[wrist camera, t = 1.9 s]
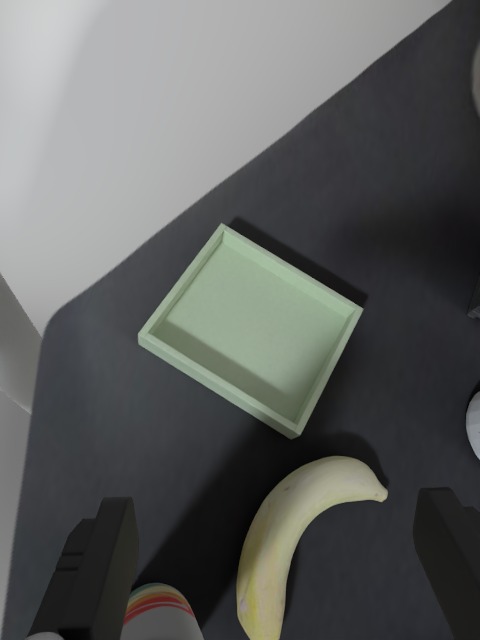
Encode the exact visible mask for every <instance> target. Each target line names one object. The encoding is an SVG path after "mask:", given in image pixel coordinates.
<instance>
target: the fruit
mask: <svg viewBox="0 0 480 640" xmlns="http://www.w3.org/2000/svg"><path fill="white" fill-rule="evenodd" d="M387 494H388V493H387V490H386V489H385V488H384V487H383V486H382V485H381V483H380V482H379V481H378V479H377V478H376V476H375V474H374V473H373V471H372V470H371V469H370V468H369V467H368V466H367V465H366V464H364V463H363V462H361V461H360V460H357V459H354V458H351V457H345V456H330V457H326V458H322V459H319V460H316V461H313V462H310V463H308V464H306V465H304V466H302V467H300V468H298V469H297V470H295V471H293V472H292V473H291V474H289V475H288V476H287V477H285V478H284V479H283V480H282V481H281V482H280V483H279V484H278V485H277V486H276V487H275V488H274V489H273V490H272V491H271V492H270V493H269V495H268V496H267V497H266V498H265V500H264V501H263V503H262V505H261V506H260V508H259V510H258V512H257V513H256V515H255V518H254V520H253V522H252V524H251V526H250V528H249V531H248V533H247V536H246V539H245V542H244V545H243V548H242V553H241V557H240V562H239V568H238V576H237V614H238V619H239V621H240V623H241V625H242V627H243V628H244V630H245V632H246V633H247V635H248V637H249V638H250V640H279V637H280V632H281V627H282V622H283V615H284V608H285V596H286V582H287V577H288V572H289V568H290V564H291V559H292V556H293V553H294V550H295V548H296V545H297V543H298V541H299V539H300V537H301V535H302V533H303V532H304V530H305V529H306V527H307V526H308V525H309V523H310V522H311V521H312V520H313V519H314V518H315V517H316V516H317V515H318V514H320V513H321V512H323V511H324V510H326V509H327V508H329V507H331V506H333V505H335V504H339V503H343V502H350V501H360V500H368V499H370V500H376V501H379V502H383V500H385V499H386V498H387Z"/></svg>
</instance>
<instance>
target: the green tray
mask: <svg viewBox="0 0 480 640" xmlns="http://www.w3.org/2000/svg"><path fill="white" fill-rule="evenodd" d="M362 311H363V308H361V307H360V306H358V305H356V304H355V303H353V302H351V301H350V300H348V299H347V298H345V297H343V296H342V295H340V294H338V293H337V292H335V291H333V290H332V289H330V288H328V287H327V286H325V285H323V284H322V283H320V282H318V281H317V280H315V279H313V278H312V277H310V276H308V275H307V274H305V273H304V272H302V271H300V270H299V269H297V268H295V267H294V266H292V265H290V264H289V263H287V262H285V261H284V260H282V259H280V258H279V257H277V256H275V255H274V254H272V253H270V252H269V251H267V250H265V249H264V248H262V247H260V246H259V245H257V244H256V243H254V242H252V241H251V240H249V239H247V238H246V237H244V236H242V235H241V234H239V233H237V232H236V231H234V230H232V229H231V228H229V227H227V226H226V225H224V224H222V223H221V224H220V226H219V227H218V228H217V230H216V231H215V232H214V234H213V235H212V236H211V238H210V239H209V240H208V242H207V243H206V244H205V246H204V247H203V248H202V250H201V251H200V252H199V253H198V255H197V256H196V257H195V259H194V260H193V261H192V263H191V264H190V265H189V267H188V268H187V269H186V271H185V272H184V273H183V275H182V276H181V277H180V279H179V280H178V281H177V283H176V284H175V285H174V287H173V288H172V289H171V291H170V292H169V293H168V295H167V296H166V297H165V299H164V300H163V301H162V303H161V304H160V305H159V306H158V308H157V309H156V310H155V312H154V313H153V314H152V316H151V317H150V318H149V320H148V321H147V322H146V324H145V325H144V326H143V328H142V329H141V330H140V332H139V333H138V344H139V345H141V346H142V347H144V348H145V349H147V350H149V351H150V352H152V353H153V354H155V355H157V356H158V357H160V358H161V359H163V360H165V361H166V362H168V363H169V364H171V365H173V366H174V367H176V368H177V369H179V370H181V371H182V372H184V373H185V374H187V375H189V376H190V377H192V378H193V379H195V380H197V381H198V382H200V383H201V384H203V385H205V386H206V387H208V388H209V389H211V390H213V391H214V392H216V393H217V394H219V395H221V396H222V397H224V398H225V399H227V400H229V401H230V402H232V403H233V404H235V405H237V406H238V407H240V408H241V409H243V410H245V411H246V412H248V413H249V414H251V415H253V416H254V417H256V418H257V419H259V420H261V421H262V422H264V423H265V424H267V425H269V426H270V427H272V428H273V429H275V430H277V431H278V432H280V433H281V434H283V435H285V436H286V437H288V438H289V439H293V438H295V437H298V436H300V435H301V433H302V431H303V429H304V427H305V425H306V423H307V421H308V419H309V417H310V415H311V413H312V411H313V409H314V407H315V405H316V403H317V401H318V399H319V397H320V395H321V393H322V391H323V389H324V387H325V385H326V383H327V381H328V379H329V377H330V375H331V373H332V371H333V369H334V367H335V365H336V363H337V361H338V359H339V357H340V355H341V353H342V351H343V349H344V347H345V345H346V343H347V341H348V339H349V337H350V335H351V333H352V331H353V329H354V327H355V325H356V323H357V321H358V319H359V317H360V315H361V313H362Z"/></svg>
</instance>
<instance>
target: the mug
mask: <svg viewBox="0 0 480 640" xmlns="http://www.w3.org/2000/svg"><path fill="white" fill-rule="evenodd" d="M466 429H467V433H468V438H469V441H470V443H471V446H472V448H473V450H474V452H475V454H476V455H477V457H478V458H479V460H480V391H479V392H478V393H476V394H475V396H474V397H473V399H472V400H471V402H470V403H469V407H468V410H467V414H466Z"/></svg>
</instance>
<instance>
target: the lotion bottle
mask: <svg viewBox="0 0 480 640" xmlns="http://www.w3.org/2000/svg"><path fill="white" fill-rule="evenodd" d="M120 640H204V638H203V636H202V633H201V631H200V628H199V626H198V623H197V621H196V619H195V616H194V614H193V611H192V609H191V607H190V605H189V603H188V602H187V600H186V599H185V597H184V596H183V595H182V594H181V593H180V592H179V591H178V590H176V589H175V588H173V587H171V586H169V585H166V584H162V583H151V584H146V585H143V586H141V587H139V588H137V589H135V590H134V591H132V592H131V593H130V596H129V601H128V605H127V610H126V614H125V619H124V623H123V628H122V632H121V637H120Z"/></svg>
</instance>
